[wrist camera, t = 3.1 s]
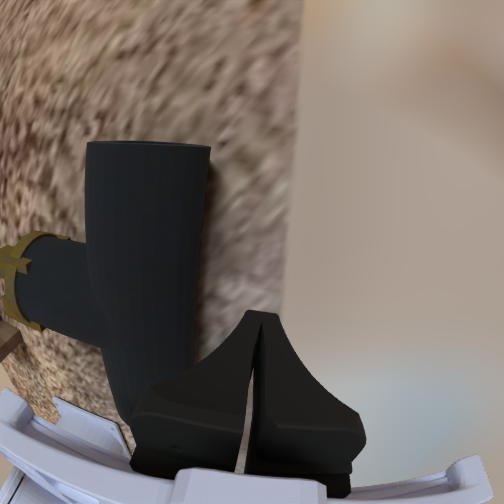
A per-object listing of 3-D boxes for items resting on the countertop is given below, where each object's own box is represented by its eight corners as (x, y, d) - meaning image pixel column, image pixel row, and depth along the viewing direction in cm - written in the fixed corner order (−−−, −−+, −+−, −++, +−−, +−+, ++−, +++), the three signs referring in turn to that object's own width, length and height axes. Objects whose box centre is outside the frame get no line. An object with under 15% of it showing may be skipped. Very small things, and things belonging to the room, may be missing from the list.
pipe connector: (27, 385, 13) (-25, 151, 8) (62, 343, 18) (40, 141, 13) (182, 445, 13) (190, 147, 8) (199, 383, 18) (221, 147, 13)
